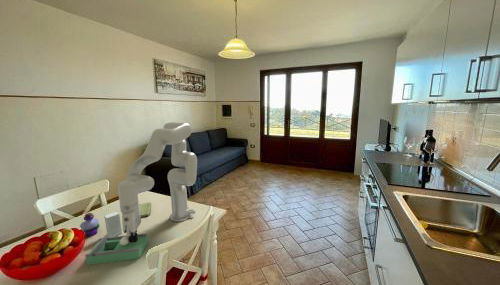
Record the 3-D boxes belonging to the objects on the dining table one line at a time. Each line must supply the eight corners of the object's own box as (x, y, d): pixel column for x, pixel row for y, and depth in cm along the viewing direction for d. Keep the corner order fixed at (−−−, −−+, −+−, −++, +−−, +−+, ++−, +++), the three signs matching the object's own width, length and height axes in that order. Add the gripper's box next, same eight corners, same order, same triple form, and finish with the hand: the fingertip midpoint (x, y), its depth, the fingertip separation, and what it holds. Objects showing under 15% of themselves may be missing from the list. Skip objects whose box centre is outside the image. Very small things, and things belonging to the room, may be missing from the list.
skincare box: (119, 230, 118) (116, 211, 116) (122, 233, 115) (119, 213, 113) (106, 235, 113) (104, 215, 111) (109, 238, 110) (106, 218, 108)
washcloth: (127, 221, 128) (126, 216, 128) (132, 208, 144) (131, 203, 144) (150, 217, 133) (150, 212, 132) (152, 204, 149) (152, 200, 148)
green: (147, 241, 108) (146, 230, 107) (139, 258, 96) (138, 246, 95) (101, 247, 104) (99, 235, 103) (86, 264, 92) (84, 252, 91)
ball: (130, 234, 101) (121, 234, 100) (128, 240, 97) (118, 240, 96) (130, 241, 102) (121, 241, 101) (128, 247, 98) (118, 247, 97)
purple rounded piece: (102, 233, 115) (99, 214, 113) (82, 240, 109) (79, 220, 107) (99, 227, 121) (96, 208, 119) (80, 233, 115) (77, 213, 113)
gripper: (132, 213, 90) (136, 251, 94) (143, 198, 105) (146, 231, 108) (113, 215, 89) (118, 253, 92) (127, 199, 104) (131, 233, 107)
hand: (133, 241), depth 100 cm, fingers closed
